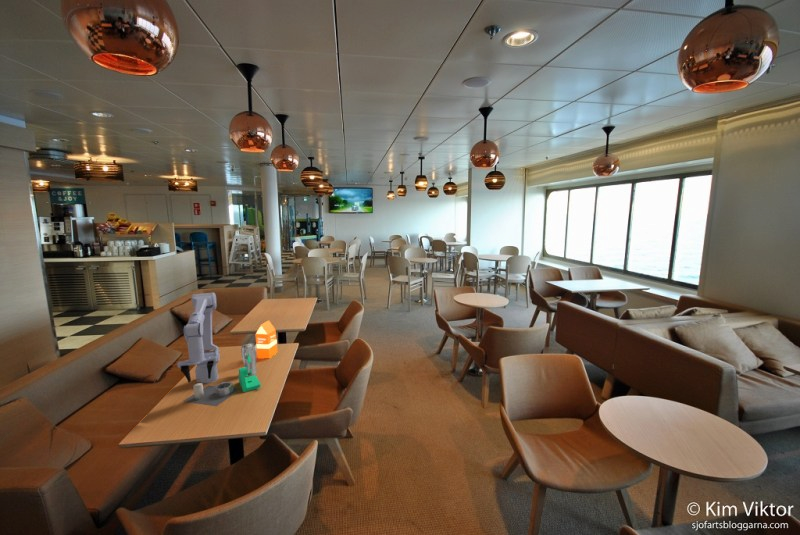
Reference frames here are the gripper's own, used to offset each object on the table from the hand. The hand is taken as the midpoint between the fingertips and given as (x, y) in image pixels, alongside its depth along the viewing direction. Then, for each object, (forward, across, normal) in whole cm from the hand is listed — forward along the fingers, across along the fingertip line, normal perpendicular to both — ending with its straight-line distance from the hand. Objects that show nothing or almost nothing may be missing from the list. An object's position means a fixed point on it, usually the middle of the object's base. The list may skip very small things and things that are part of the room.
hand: (199, 379), depth 146 cm
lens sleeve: (+9, +9, 0) cm, 13 cm away
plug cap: (+8, -1, 0) cm, 8 cm away
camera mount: (+10, +20, +2) cm, 22 cm away
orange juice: (+10, +29, +38) cm, 49 cm away
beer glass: (+10, +20, +18) cm, 29 cm away
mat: (+9, +4, 0) cm, 10 cm away
